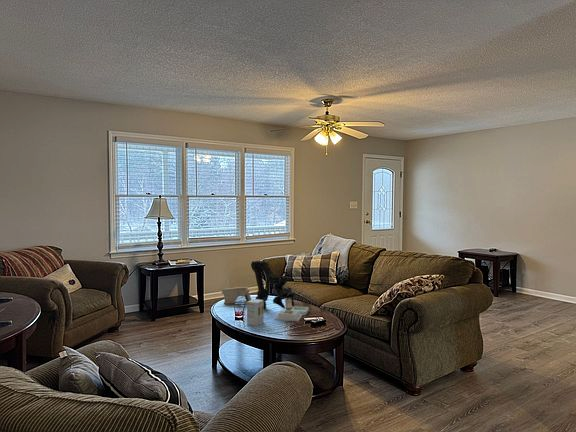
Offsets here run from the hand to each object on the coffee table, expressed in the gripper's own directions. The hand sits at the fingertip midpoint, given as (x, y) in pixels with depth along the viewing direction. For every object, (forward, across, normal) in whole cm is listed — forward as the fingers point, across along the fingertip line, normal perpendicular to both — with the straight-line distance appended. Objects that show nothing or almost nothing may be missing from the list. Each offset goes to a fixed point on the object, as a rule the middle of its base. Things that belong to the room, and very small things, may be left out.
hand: (289, 307), depth 298 cm
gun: (-37, -7, +48) cm, 61 cm away
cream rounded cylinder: (+4, 0, +6) cm, 7 cm away
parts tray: (+2, +15, +9) cm, 18 cm away
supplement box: (+1, -27, +11) cm, 29 cm away
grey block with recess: (+5, 0, +6) cm, 8 cm away
